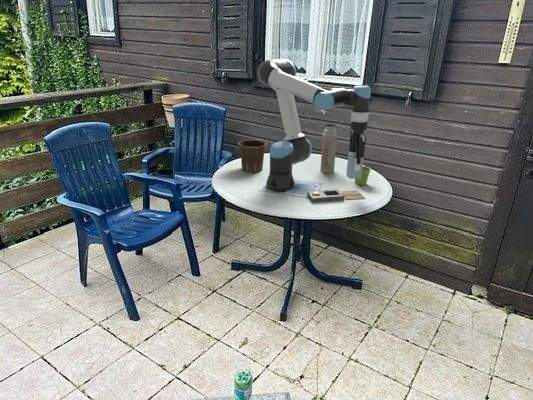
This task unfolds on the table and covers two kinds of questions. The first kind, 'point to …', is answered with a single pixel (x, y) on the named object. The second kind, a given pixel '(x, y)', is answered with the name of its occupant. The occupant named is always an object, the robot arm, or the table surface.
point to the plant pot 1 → (252, 155)
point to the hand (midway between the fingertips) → (354, 168)
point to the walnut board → (352, 195)
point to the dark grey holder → (325, 195)
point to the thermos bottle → (328, 149)
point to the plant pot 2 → (363, 176)
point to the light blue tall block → (350, 166)
